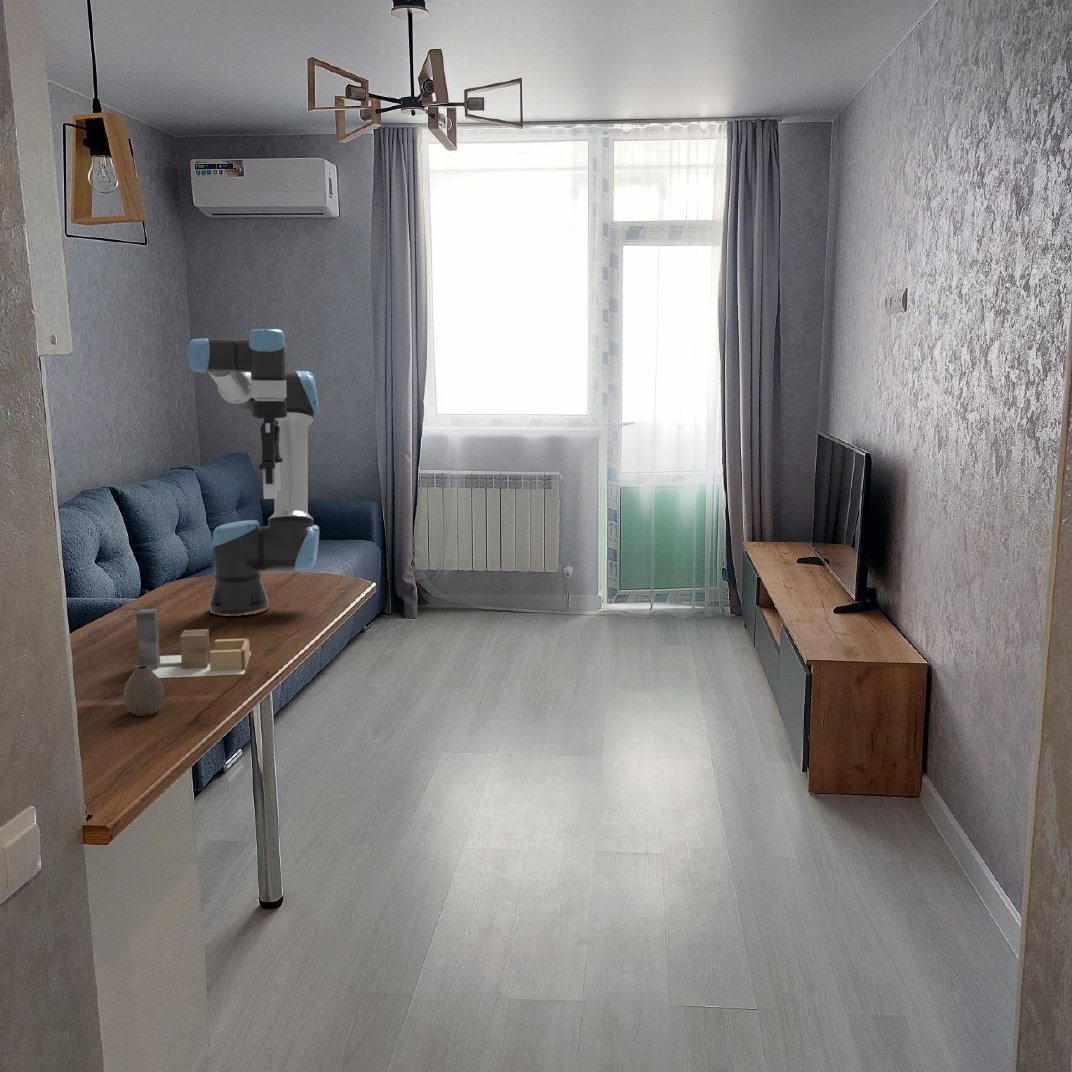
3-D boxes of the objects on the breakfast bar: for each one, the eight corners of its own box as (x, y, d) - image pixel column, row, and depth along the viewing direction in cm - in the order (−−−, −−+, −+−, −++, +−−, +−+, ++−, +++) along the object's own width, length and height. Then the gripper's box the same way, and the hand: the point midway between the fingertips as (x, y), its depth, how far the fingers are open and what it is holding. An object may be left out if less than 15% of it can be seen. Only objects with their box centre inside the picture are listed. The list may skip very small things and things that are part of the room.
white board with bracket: (146, 661, 217) (145, 638, 216) (251, 656, 221) (250, 634, 220) (131, 683, 201) (129, 659, 200) (244, 678, 205) (243, 655, 204)
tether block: (143, 663, 211) (140, 608, 209) (210, 660, 214) (207, 606, 212) (138, 670, 207) (135, 614, 205) (206, 667, 209) (204, 612, 207)
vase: (131, 706, 188) (129, 661, 187) (169, 705, 189) (166, 661, 187) (119, 719, 181) (116, 672, 180) (158, 718, 182) (156, 672, 180)
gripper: (256, 398, 233) (259, 488, 237) (246, 401, 209) (250, 502, 213) (289, 398, 235) (292, 487, 238) (283, 402, 211) (286, 501, 214)
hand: (272, 494), depth 226 cm, fingers open, 13 cm apart
